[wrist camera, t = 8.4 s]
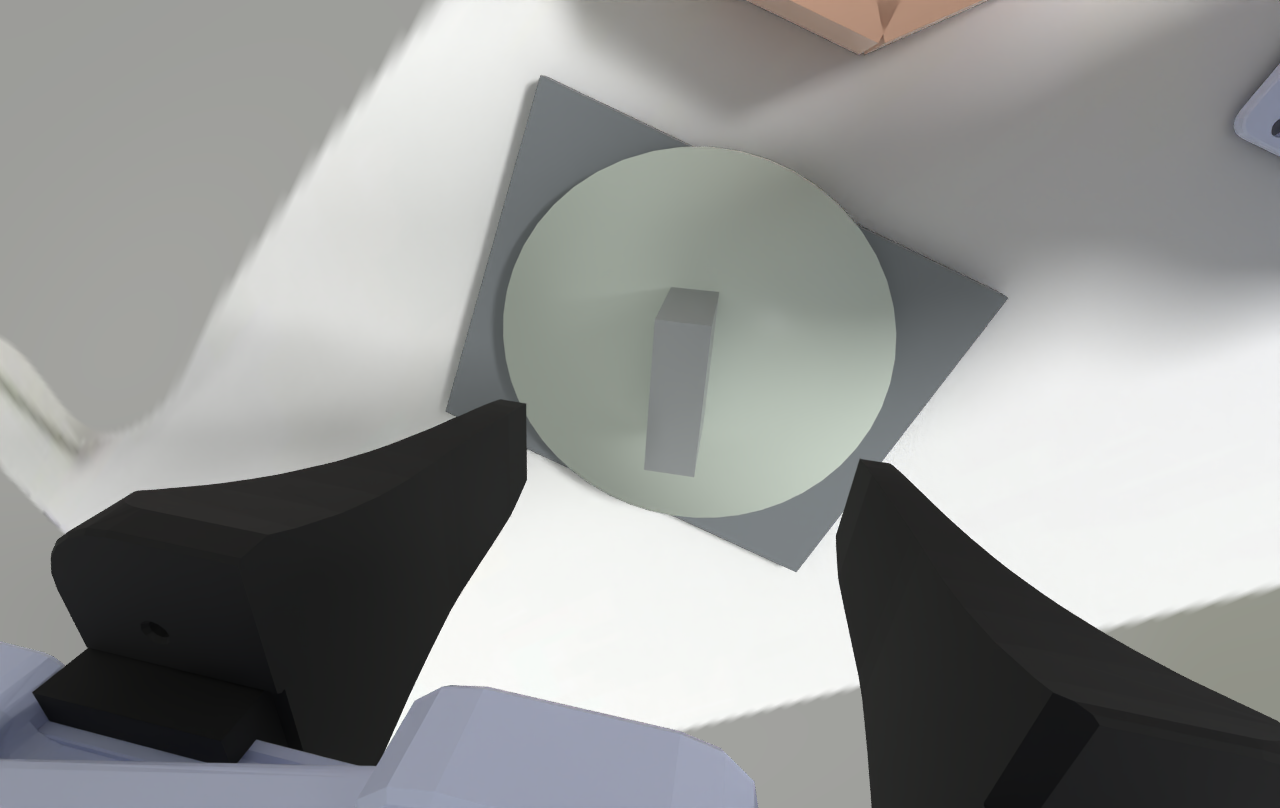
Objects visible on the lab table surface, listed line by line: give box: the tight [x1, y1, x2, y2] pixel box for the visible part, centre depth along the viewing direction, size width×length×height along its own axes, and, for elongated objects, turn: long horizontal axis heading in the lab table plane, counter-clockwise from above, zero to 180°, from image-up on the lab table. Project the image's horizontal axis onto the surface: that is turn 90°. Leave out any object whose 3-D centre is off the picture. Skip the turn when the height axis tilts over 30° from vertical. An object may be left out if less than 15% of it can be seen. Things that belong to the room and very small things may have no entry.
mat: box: [446, 75, 1008, 572], centre depth 21 cm, size 16×13×1 cm
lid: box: [503, 147, 896, 518], centre depth 19 cm, size 14×14×4 cm
